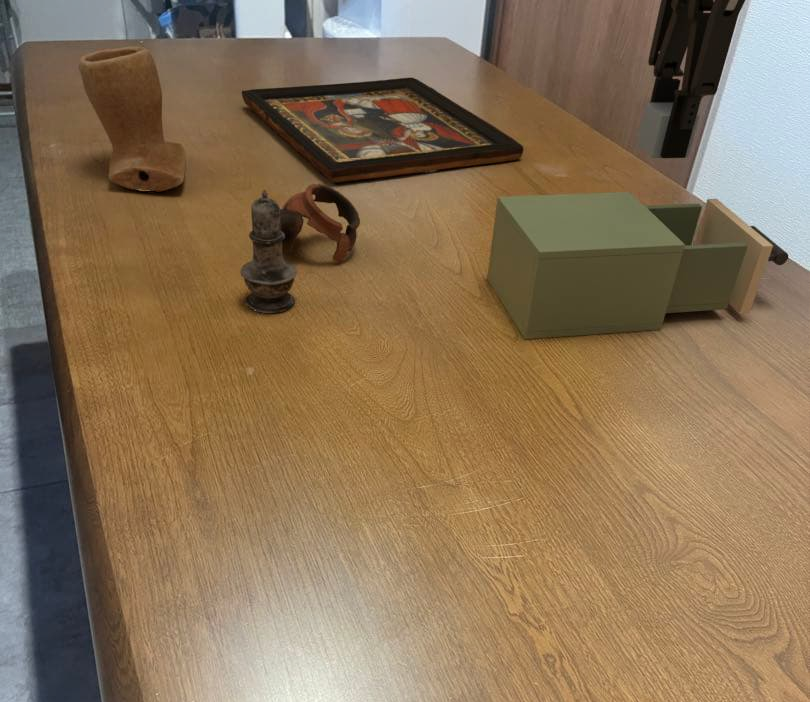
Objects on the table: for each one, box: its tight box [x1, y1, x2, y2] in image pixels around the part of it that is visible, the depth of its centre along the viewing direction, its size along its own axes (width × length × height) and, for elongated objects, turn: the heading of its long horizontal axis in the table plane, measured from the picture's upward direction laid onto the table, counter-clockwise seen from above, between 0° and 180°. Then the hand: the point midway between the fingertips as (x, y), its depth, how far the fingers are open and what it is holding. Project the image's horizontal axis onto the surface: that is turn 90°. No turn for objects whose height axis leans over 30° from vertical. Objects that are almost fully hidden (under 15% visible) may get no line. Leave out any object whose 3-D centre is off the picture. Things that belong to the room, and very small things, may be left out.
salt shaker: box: [239, 189, 298, 314], centre depth 90 cm, size 6×6×12 cm
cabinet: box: [486, 191, 685, 340], centre depth 94 cm, size 16×14×10 cm
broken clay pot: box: [280, 183, 361, 263], centre depth 101 cm, size 12×10×8 cm
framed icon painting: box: [241, 77, 524, 183], centre depth 133 cm, size 38×35×3 cm
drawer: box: [644, 198, 789, 315], centre depth 97 cm, size 19×12×8 cm, turn 103°
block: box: [635, 102, 701, 159], centre depth 98 cm, size 4×4×4 cm
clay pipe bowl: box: [78, 46, 187, 192], centre depth 112 cm, size 15×12×15 cm
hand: (663, 148), depth 99 cm, fingers closed on block, 4 cm apart
